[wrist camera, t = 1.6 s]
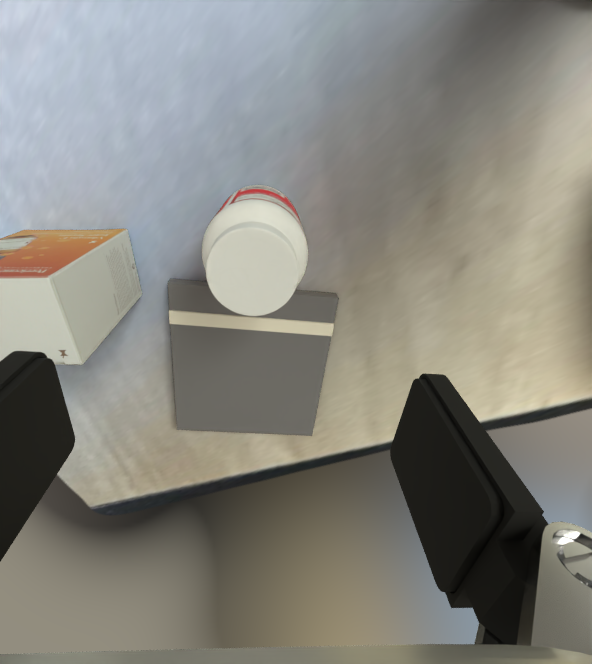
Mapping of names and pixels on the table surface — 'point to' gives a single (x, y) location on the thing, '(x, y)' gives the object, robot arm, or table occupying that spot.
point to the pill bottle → (255, 251)
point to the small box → (64, 291)
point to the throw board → (248, 361)
